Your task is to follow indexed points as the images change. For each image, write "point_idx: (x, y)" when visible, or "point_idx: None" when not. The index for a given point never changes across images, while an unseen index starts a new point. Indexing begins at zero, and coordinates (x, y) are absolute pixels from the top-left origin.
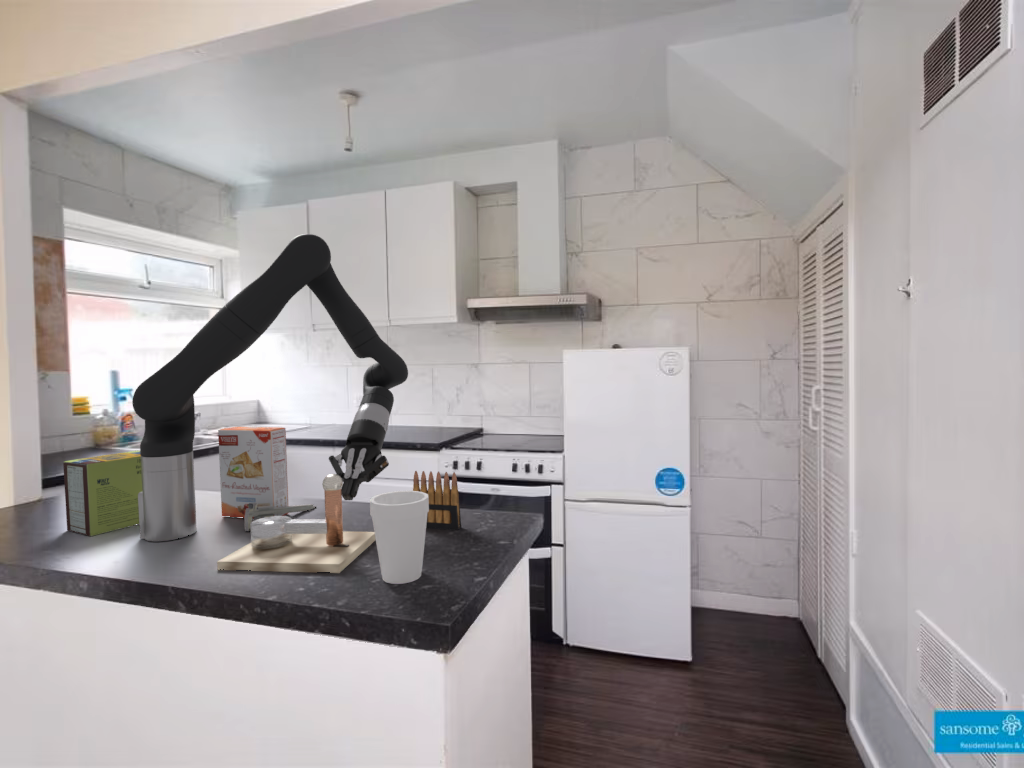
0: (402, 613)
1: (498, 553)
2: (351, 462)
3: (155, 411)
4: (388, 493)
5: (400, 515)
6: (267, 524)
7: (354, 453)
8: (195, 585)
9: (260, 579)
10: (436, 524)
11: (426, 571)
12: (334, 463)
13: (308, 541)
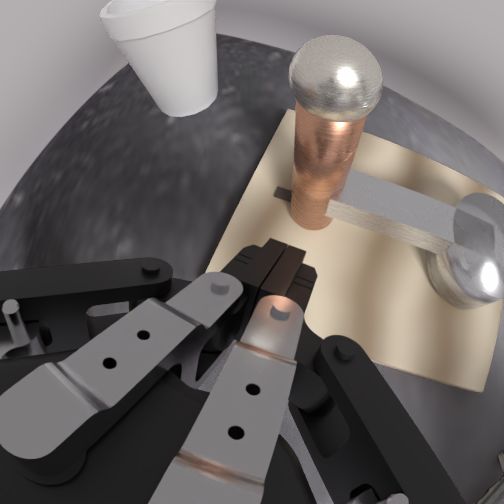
0: None
1: (45, 155)
2: (229, 374)
3: None
4: (161, 3)
5: None
6: (490, 213)
7: (162, 487)
8: (490, 158)
9: (416, 140)
10: None
11: (151, 106)
12: (410, 455)
13: (386, 265)
